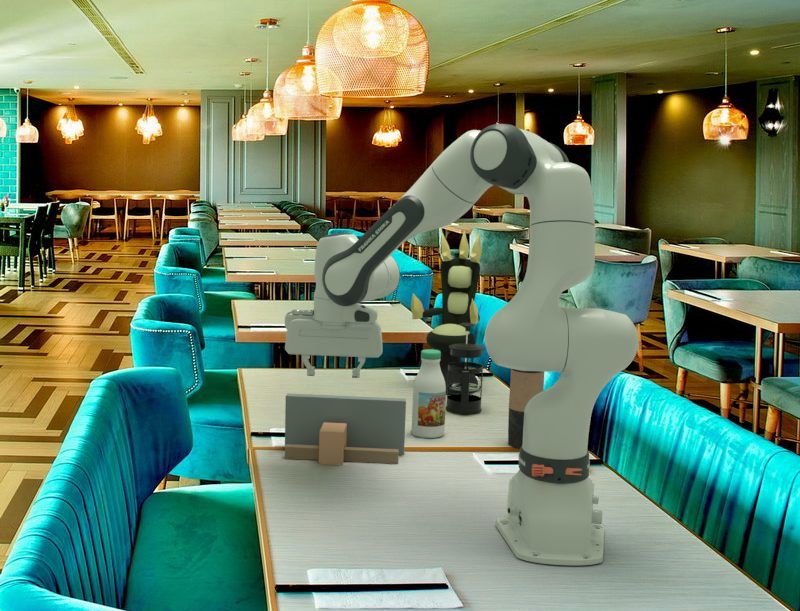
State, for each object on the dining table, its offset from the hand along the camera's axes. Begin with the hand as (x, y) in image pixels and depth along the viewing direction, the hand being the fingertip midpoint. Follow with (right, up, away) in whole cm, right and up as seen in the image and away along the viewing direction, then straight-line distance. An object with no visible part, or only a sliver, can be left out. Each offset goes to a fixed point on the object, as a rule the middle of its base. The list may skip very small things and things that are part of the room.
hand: (333, 376), depth 190 cm
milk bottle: (+20, -16, +24) cm, 35 cm away
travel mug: (+42, -17, +18) cm, 49 cm away
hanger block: (0, -18, +3) cm, 18 cm away
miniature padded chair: (+28, -9, +73) cm, 78 cm away
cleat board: (+2, -17, +6) cm, 18 cm away
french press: (+30, -13, +46) cm, 57 cm away
